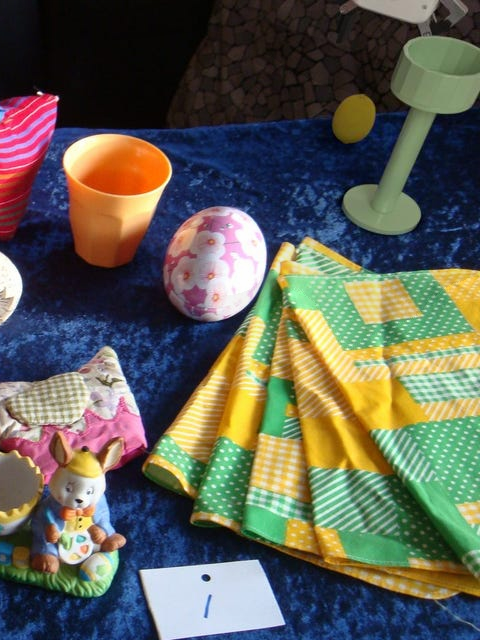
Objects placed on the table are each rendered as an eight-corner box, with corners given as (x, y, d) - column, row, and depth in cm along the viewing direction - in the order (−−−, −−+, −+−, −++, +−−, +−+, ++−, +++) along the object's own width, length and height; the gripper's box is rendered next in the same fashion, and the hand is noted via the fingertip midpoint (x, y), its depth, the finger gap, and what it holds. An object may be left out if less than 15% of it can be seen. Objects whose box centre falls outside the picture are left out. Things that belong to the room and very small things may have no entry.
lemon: (368, 139, 125) (387, 91, 119) (358, 158, 122) (377, 109, 116) (331, 129, 127) (348, 80, 121) (320, 147, 123) (337, 98, 117)
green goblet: (428, 208, 114) (504, 52, 97) (403, 246, 108) (479, 87, 92) (357, 181, 118) (418, 26, 101) (329, 216, 112) (389, 59, 96)
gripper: (346, -91, 102) (304, 41, 115) (491, -53, 95) (430, 83, 108) (368, -109, 106) (326, 21, 119) (509, -73, 99) (448, 60, 112)
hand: (375, 50), depth 113 cm, fingers open, 9 cm apart
